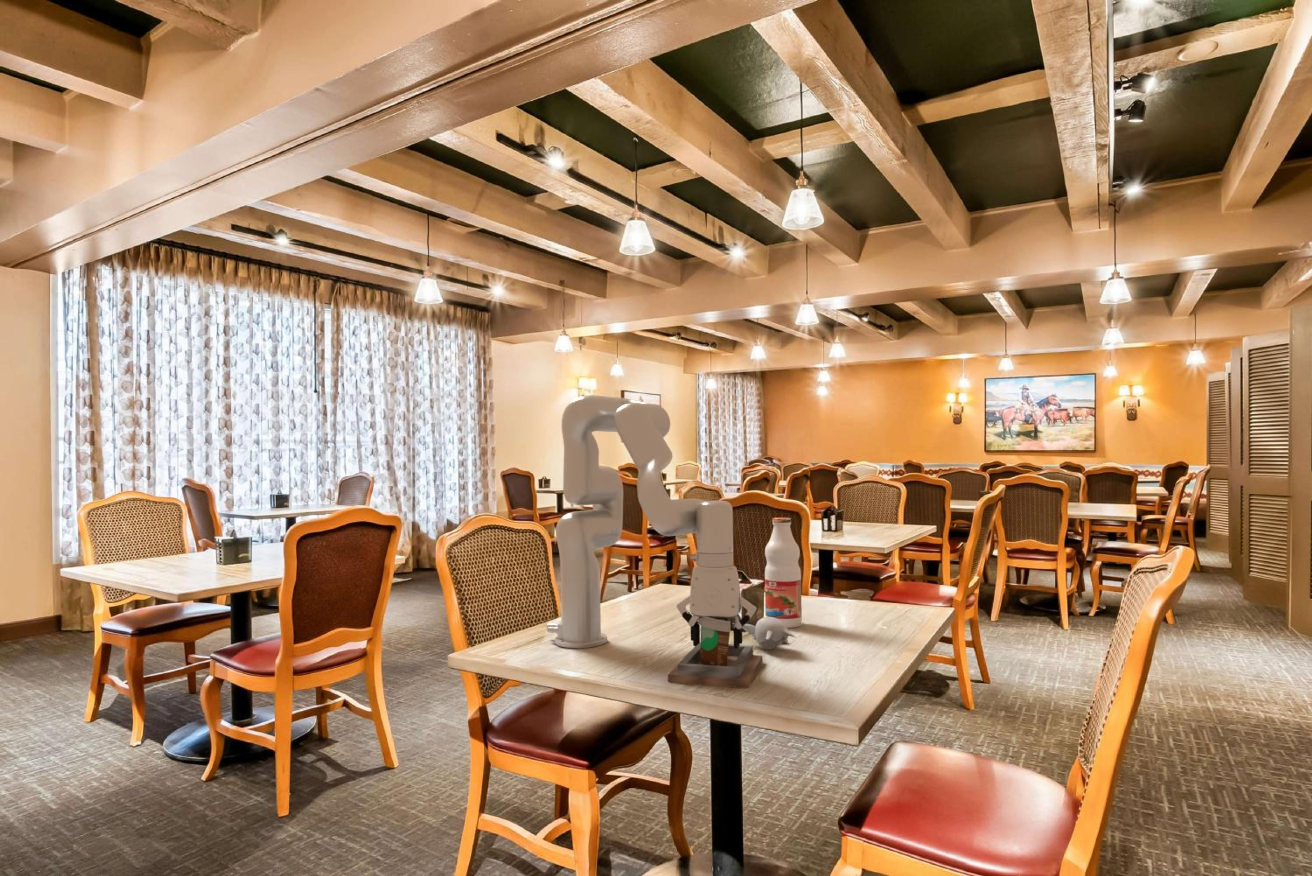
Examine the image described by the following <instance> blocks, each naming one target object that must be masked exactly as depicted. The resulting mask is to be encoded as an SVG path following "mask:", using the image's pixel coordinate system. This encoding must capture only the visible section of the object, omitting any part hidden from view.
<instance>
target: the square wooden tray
mask: <svg viewBox="0 0 1312 876" xmlns="http://www.w3.org/2000/svg"><path fill="white" fill-rule="evenodd" d="M762 664H763V655H758V654H754V646H753V645H750V644H749V645H745V644H740V646H739V647H738V649H735V648H734V644H730V643H729V646H728V657H727V666H714V665H703V664H702V663H701V642H700V643H699V644H698V645H697V646H693V648H692V649H691V650H690V651H689V652H688V653H687V654H685V656H684V657H683V658H682V659H681V660H680V661H679V662H678V663H677V664H676V665H675V666H674V667H673V668H672V669H671V670H670V671H669V672H668V674H667V683H675V682H677V684H687V685H689V684H690V685H700V686H701V685H702V686H703V685H704V686H716V687H727V688H728V687H729V688H740V689H741V688H742V689H749V688H750V686H751V684H752V682H753V681H754V679H755V677H756V675H757V674H758V671H759V670H760V668H761V666H762Z"/></svg>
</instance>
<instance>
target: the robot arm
mask: <svg viewBox="0 0 1312 876" xmlns="http://www.w3.org/2000/svg"><path fill="white" fill-rule="evenodd" d="M670 429H671V419H670V415H669V414H668V412H667V411H666V409H665V408H663V406H662V405H661V406H660V405H659V404H656V403H655V404H654V403H650V402H644V401H638V400H634V399H630V398H624V397H619V396H618V397H616V396H604V395H596V394H595V395H592V394H591V395H589V394H588V395H582V396H581V395H580V396H578V397H576V398H574V399H572V400H571V401H570V402H568V404H567V405H566V407H565V408H564V410H563V413H562V416H561V434H562V441H563V475H562V476H563V478H562V479H563V481H562V482H563V483H562V491H563V495H564V496H563V497H564V500H565V501H566V502H567V503H569V504H570V505H572V506H573V505H574V506H593V509H592V510H591V509H586V510H579V511H578V510H576V511H571V512H568V513H566V514H564V515H563V516H562V517H561V518H559V519H558V522H557V523H556V527H555V537H556V542H557V547H558V553H559V563H560V565H559V567H560V617H561V619H560V622H559V623H555V622H553V623H552V622H548V623H547V625H546V631H547V633H549V634H550V633H552V634H553V633H554V634H556V635H557V636H556V637H555V638H554V643H555V645H557V646H558V647H562V648H568V649H587V648H594V647H599V646H602V645H604V644H606V643H607V642H608V636H607V634H605V633H603V632H602V630H601V628H602V627H601V625H602V624H601V621H602V620H601V568H600V564H599V560H598V559H597V557H596V553H595V552H594V550H595V549H601V548H607V547H611V546H613V545H615V544H617V543H618V541H619V539H620V538H621V536H622V531H623V521H624V519H623V518H624V517H623V516H624V485H623V481H622V478H621V475H620V474H619V472H618V471H617V470H616V469H615V468H613V467H610V466H605V465H600V462H599V461H600V458H599V457H600V450H599V445H598V442H597V440H596V438H595V436H594V435H593V432H606V433H607V432H611V433H617V434H618V436H619V437H620V440H621V441H622V443H623V445H624V447H625V449H626V450H627V452H628V454H629V456H630V458H631V459H632V462H633V463H634V465H635V467H636V469H637V471H638V475H637V478H636V480H637V481H636V490H637V499H638V502H639V505H640V507H641V510H642V511H643V514H644V515H645V517H646V519H647V520H648V522H649V524H650V526H652V528H653V529H654V531H656V532H657V533H658V534H660V535H661V536H664V537H674V536H675V537H676V536H681V535H691V534H696V552H695V553H694V554H690V557H689V558H690V562H691V561H692V562H695V564H696V566H694V567H692V573H691V579H690V580H691V581H690V590H689V593H690V594H689V596H687V597H685V598H684V599H683V600H682V601H680V602H679V603H678V604H676V609H677V610H678V612H679V613H680V614H681V617H682V618H683V619H684V620H685V621H686V623H687V624H688V625H689V627H690V641H691V642H692V646H693V647H695V646H697V645H698V644H699V643H701V625H700V624H698V620H699V617H705V616H707V617H713V618H727V619H730V621H731V622H732V623H733V624H734V628H733V631H732V633H733V645H734V648H735V649H738V647H739V646H740V645H743V628H742V627H743V626H744V625H745V624H748V622H749V621H750V620H751V618H752V617H753V615H754V614H755V612H756V611H757V607H756V606H755V605H754V604H752V603H751V602H749V600H747V599H745V598H744V597H742V595H741V585H740V578H739V573H738V569H737V567H736V566H735V565H734V516H733V515H734V514H733V511H734V510H733V505H732V504H731V503H730V502H729V501H725V500H704V499H700V498H679V499H671V497H670V496H669V494H668V491H666V489H665V486H664V485H663V481H662V476H661V472H663V470H665V469H666V468H667V467H668V466H669V464H670V463H671V462H672V460H673V452H672V450H671V449H670V447H669V445H668V443H667V441H666V440H665V439H664V438H665V437H666V435H668V434H669V431H670ZM688 605H689V611H688V609H687V607H686V606H688ZM742 608H744V609H746V611H747V612H746V613H745V615H744V616H743V617H742V616H740V614H739V613H741V611H742Z"/></svg>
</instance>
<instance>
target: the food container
mask: <svg viewBox="0 0 1312 876" xmlns="http://www.w3.org/2000/svg"><path fill="white" fill-rule="evenodd" d="M731 622H732V620H729V618H713V617H707V616H705V617H699V620H698V624H699V625H700V643H701V663H702V664H703V665H714V666H727V657H728V646H729V644H730V635H731Z"/></svg>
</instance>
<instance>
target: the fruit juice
mask: <svg viewBox="0 0 1312 876" xmlns="http://www.w3.org/2000/svg"><path fill="white" fill-rule="evenodd" d="M771 522H772V525H773V528H772V532H771V535H770V538H769V540H768V542H767V544H766V545H765V548H764V556H765V559H766V560H765V561H766V566H765V568H764V601H765V603H764V605H765V610H764V611H765V617H774V618H777V619H779V620H781V621H782V622H783V623H784V624H785V625H786V626H787V627H788V629H792V628H798V627H800V626H801V625H802V619H803V618H802V617H803V616H802V615H803V614H802V613H803V612H802V607H803V606H802V571H801V567H800V565H799V559H800V557H801V556H800V555H801V553H800V552H801V551H800V547H799V545H798V543H797V542H796V540H795V538H794V536H793V533H792V529H791V525H792V518H791V517H772V520H771Z"/></svg>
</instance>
